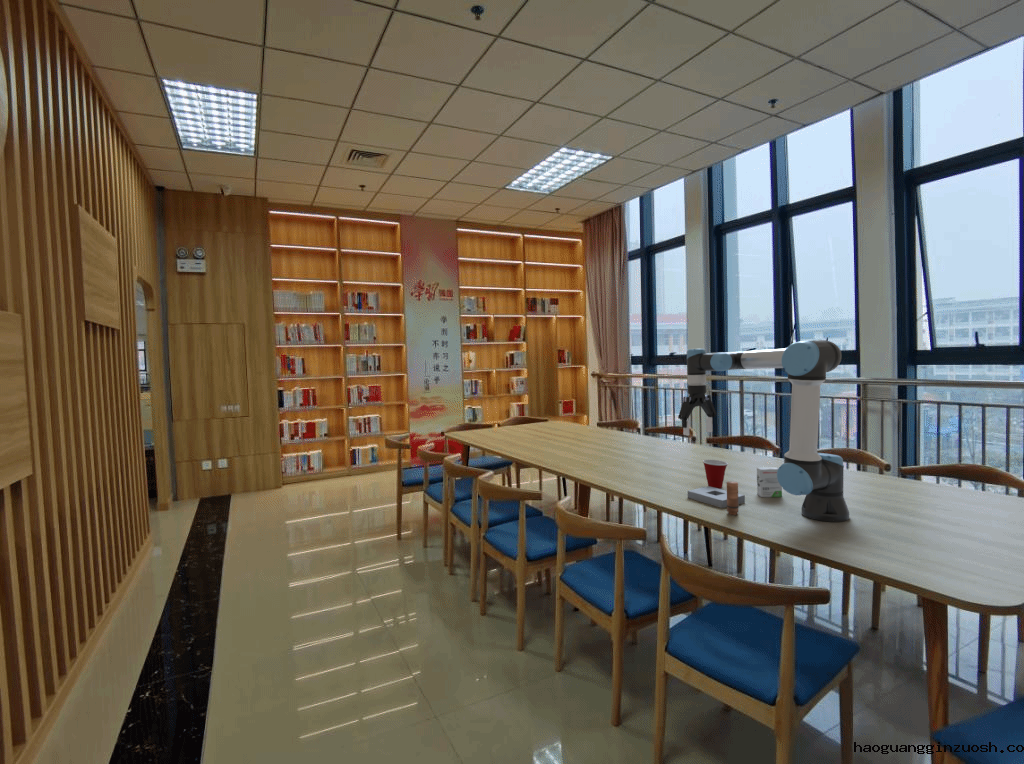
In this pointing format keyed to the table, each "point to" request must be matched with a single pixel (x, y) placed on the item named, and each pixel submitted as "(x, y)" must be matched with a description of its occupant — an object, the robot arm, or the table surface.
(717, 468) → the plastic cup
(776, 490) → the ink box
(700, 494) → the board
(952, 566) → the table surface
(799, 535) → the table surface
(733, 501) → the peg
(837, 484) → the robot arm
